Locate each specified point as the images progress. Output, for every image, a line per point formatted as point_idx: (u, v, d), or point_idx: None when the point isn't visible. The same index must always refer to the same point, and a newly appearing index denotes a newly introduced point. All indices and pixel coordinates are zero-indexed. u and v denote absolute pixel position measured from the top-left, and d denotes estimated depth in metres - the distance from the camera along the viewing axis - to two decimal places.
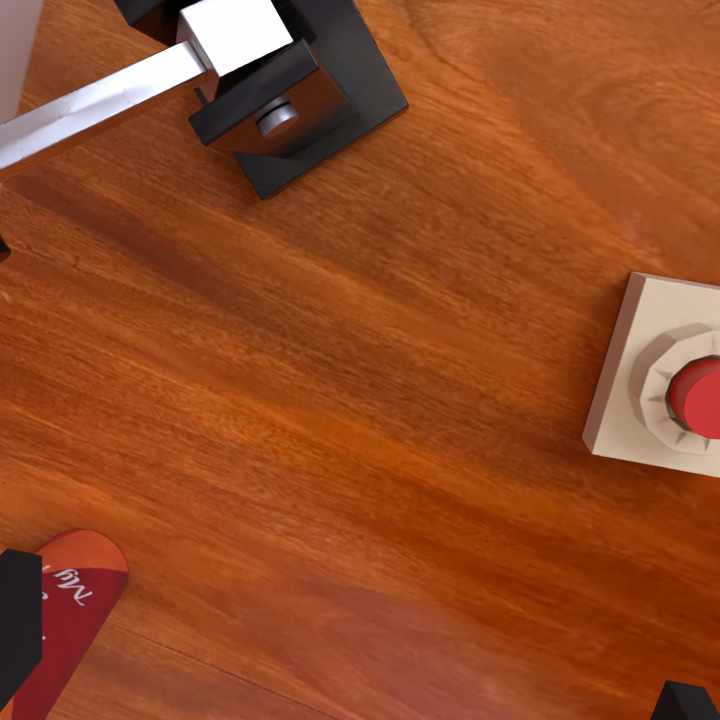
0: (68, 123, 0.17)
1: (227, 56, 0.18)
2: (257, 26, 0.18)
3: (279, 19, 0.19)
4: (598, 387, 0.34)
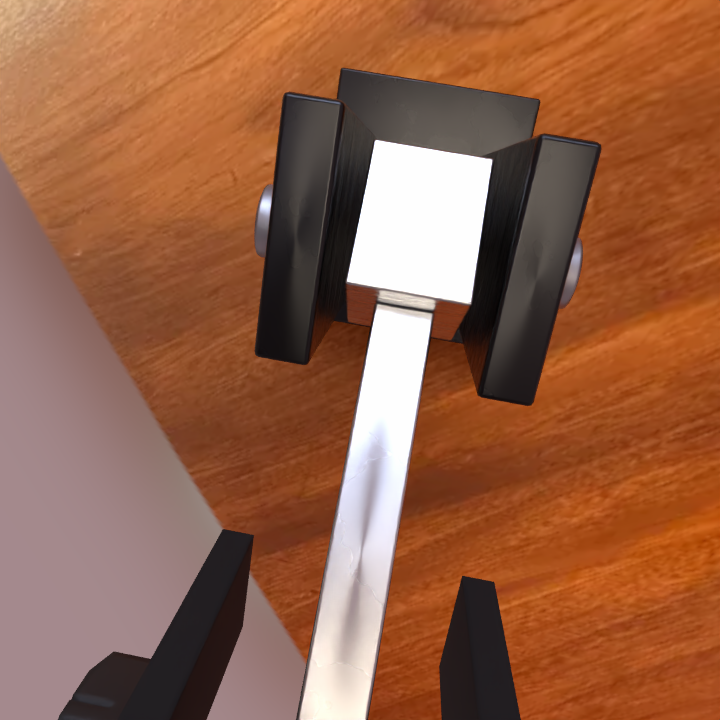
0: (371, 568, 0.10)
1: (451, 269, 0.10)
2: (439, 193, 0.10)
3: (451, 154, 0.11)
4: None
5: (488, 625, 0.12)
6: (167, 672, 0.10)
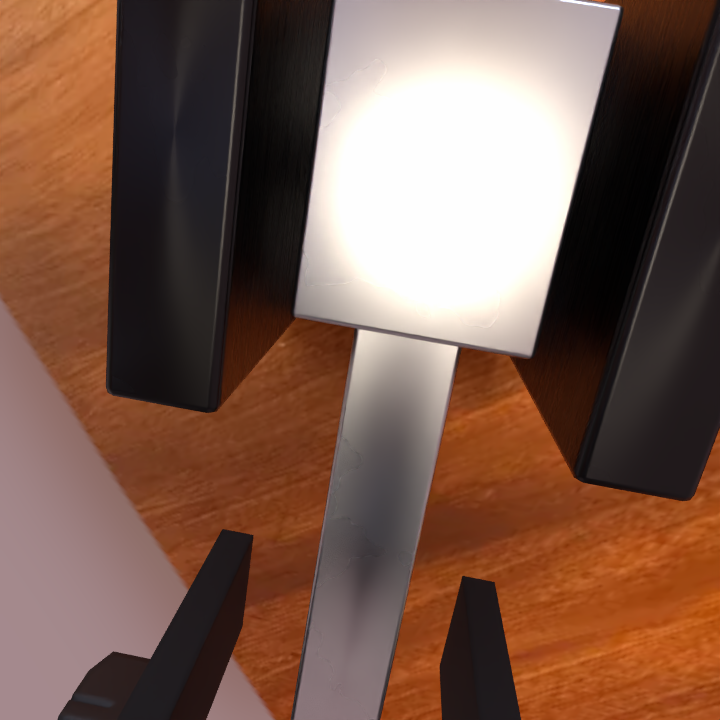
0: (359, 683, 0.07)
1: (498, 289, 0.05)
2: (486, 108, 0.05)
3: None
4: None
5: (489, 625, 0.12)
6: (167, 672, 0.10)
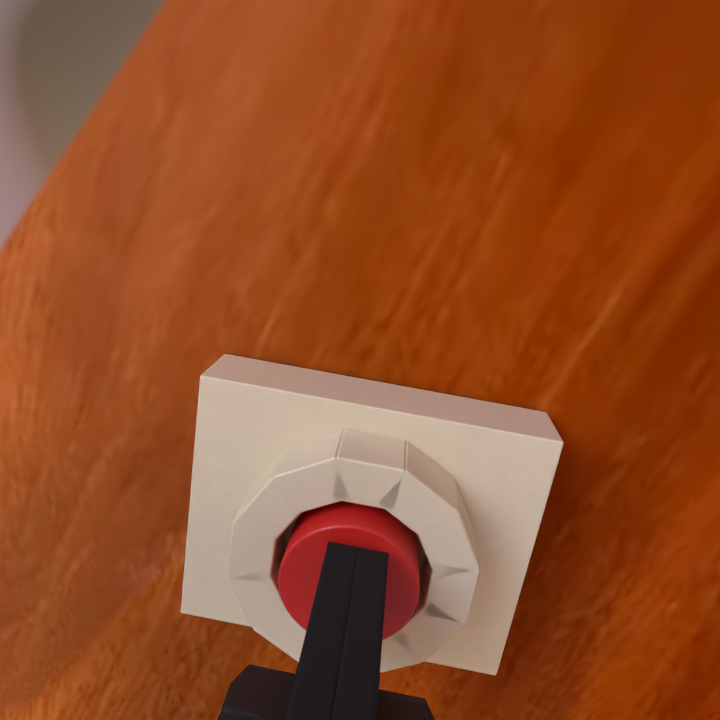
0: None
1: None
2: None
3: None
4: None
5: (372, 591, 0.13)
6: (315, 686, 0.10)
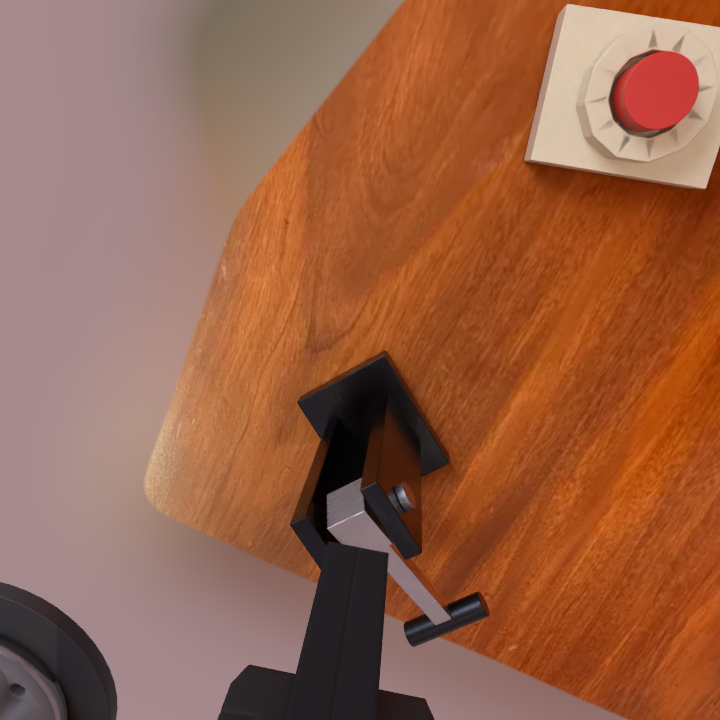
0: (417, 587, 0.33)
1: (379, 541, 0.30)
2: (358, 528, 0.29)
3: (352, 518, 0.29)
4: (635, 179, 0.35)
5: (371, 591, 0.13)
6: (315, 686, 0.10)
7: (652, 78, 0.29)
